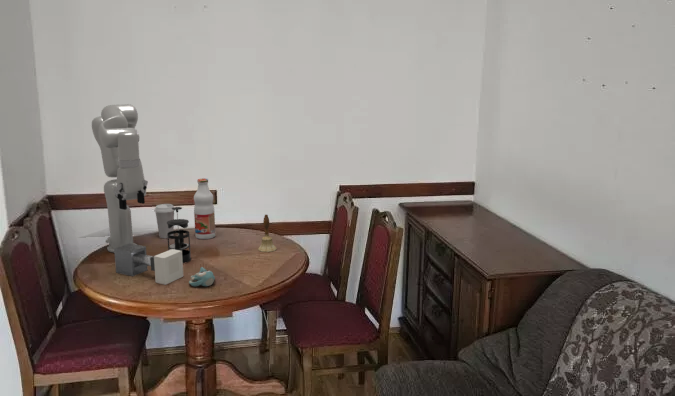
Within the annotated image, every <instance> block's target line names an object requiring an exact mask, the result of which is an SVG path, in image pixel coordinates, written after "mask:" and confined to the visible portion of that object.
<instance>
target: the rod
mask: <svg viewBox="0 0 675 396" xmlns="http://www.w3.org/2000/svg"><path fill="white" fill-rule="evenodd" d="M156 255H157V254H155V255H148V254H147V255H143V254H138V253H135V254H133V257H134V263H136V264H141V265H146V266H147V267H150V271H152V272H155V266H154V256H156Z"/></svg>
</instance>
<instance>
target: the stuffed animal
mask: <svg viewBox="0 0 675 396" xmlns="http://www.w3.org/2000/svg"><path fill="white" fill-rule="evenodd" d="M189 278H190V279H189V281H188V283H189V285H191V286H192V287H195V288H196V287H200V286H202V287H210V286H212V285H213V284H214V282H215V279H216V278H215V275H214V272H213V271H212V270H209V269H206V268H205V267H203V266H201V267H200V269H199V272H196V273H195V274H194V275H190V277H189Z"/></svg>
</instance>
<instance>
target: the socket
mask: <svg viewBox="0 0 675 396" xmlns="http://www.w3.org/2000/svg"><path fill="white" fill-rule="evenodd" d="M155 255H156V256H155ZM155 255H153V256H154V266H155V271H154V277H155V280H154V281H155V283H157V284H160V285H165V286H166V285H168V284H170V283H172V282H175V281H176V280H179V279H181V278H182V277H184V265H183V264H184V263H183V260H182V251H180V250H175V249H170V250H166V251H164V252H161V253H158V254H155Z"/></svg>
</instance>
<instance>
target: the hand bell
mask: <svg viewBox="0 0 675 396" xmlns="http://www.w3.org/2000/svg"><path fill="white" fill-rule="evenodd" d="M269 226H270V219H269V215H268V214H264V217H263V227H264V236H263V237H261V244H260V245H259V247H258V248H257V251H259V252H262V253H272V252H275V251H277V247H276V246H275V245H274V242H273V237H271V236H270V235H269V234H270V233H269Z"/></svg>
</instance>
